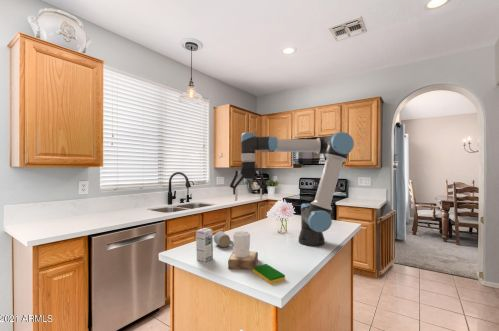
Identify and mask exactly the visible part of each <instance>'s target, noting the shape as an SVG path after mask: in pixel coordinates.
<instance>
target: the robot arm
mask: <svg viewBox="0 0 499 331" xmlns="http://www.w3.org/2000/svg"><path fill="white" fill-rule="evenodd" d="M240 143H241V144H240V146H241V148H240V149H241V151H240V152H241V156H240V157H241V159H240V160H241V161H242V162H241V166H240V167H241V170H235V175H234V176H233V179H232V180H231V182H230V184H229V188H231V189H232V192H233V193H232V194H233V195H234V201H236V202H238V188H237V187H238V186H239V185H240V184H241V182H242V181H243V180H244V179H246V180H248V179H249V180H250V179H253V180H254V182H256V183H257V184H258V186H259V193H260V194H259V195H260V198H259V200H260V202H262V201H263V195H265V189H266V188H268V185H267V183H266V180H265V178H264V176H263V173H262V170H256V151H260V152H262V153H274V152H275V153H316V154H317V155H324V156H325V158H326V159H325V163H324V166H323V169H322V173H321V177H320V179H319V182H318V187H317V190H316V194H315V197H314V200H313V201H311V202H310V203H302V204H301V206H300V211H301V212H300V213H301V214H300V215H301V216H300V220H301V221H300V222H301V223H300V224H301V225H300V226H301V228H300V232H299V235H298V243H299V244H301V245H304V246H309V247H319V246H323V245H325V244H326V243H325V242H326V241H325V240H326V239H325V236H324V233H323V232H326V231H328V230H329V229H330V228H331V226H332V223H333V220H332V212H333V208H332V206H331V205H332V200H333V197H334V195H335V194H334V193H335V190H336V187H337V183H338V180H339V177H340V175H341V174H340V173H341V170H342V167H343V163H344V162H346V161H347V160H348V156H349V154H350V153H351V152H352V151H353V149H354V146H355V141H354V139H353V137H352V135H350V134H349V133H348V132H346V131H345V132H343V131H342V132H341V131H340V132H339V131H338V132H335V133H334V134H331V135H329V136H324V137H317V138H316V139H309V138H308V139H307V138H306V139H300V138H298V139H297V138H296V139H295V138H294V139H293V138H292V139H286V138H285V139H283V138H282V139H279V138H277V136H271V135H269V136H256V134H255V132H243V133H242V134H241V139H240ZM240 174H241V177H240V178H239V179H238V177H239V175H240ZM256 174H257V175H258V176H259V178H260V180H261V181H260V180H259V179H258V178H257V176H256ZM237 179H238V180H237ZM236 180H237V181H236ZM261 182H262V183H261Z"/></svg>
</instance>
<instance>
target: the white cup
mask: <svg viewBox="0 0 499 331" xmlns="http://www.w3.org/2000/svg"><path fill="white" fill-rule="evenodd" d="M232 238H233V240H232V241H233V242H234V243H233V251H234V252H235V256H236V257H239V258H244V257H248V256H249V251H250V248H251V247H250V245H251V244H250V243H251V233H250V232H248V231H236V232H233V234H232Z"/></svg>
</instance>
